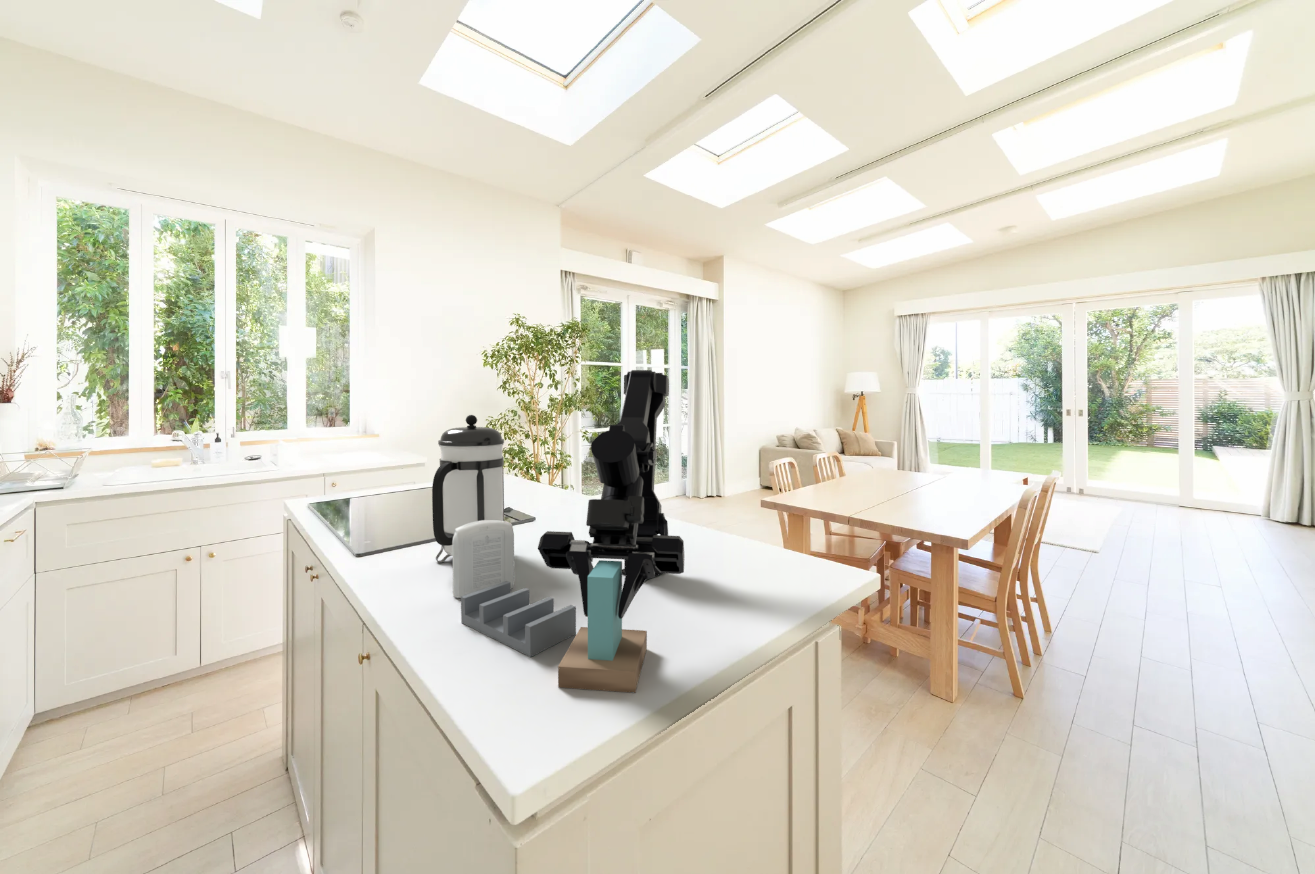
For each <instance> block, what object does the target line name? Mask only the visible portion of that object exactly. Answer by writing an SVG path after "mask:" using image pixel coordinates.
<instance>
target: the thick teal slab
mask: <svg viewBox="0 0 1315 874" xmlns="http://www.w3.org/2000/svg"><path fill="white" fill-rule="evenodd" d="M622 569H623V561H621V560H605V559H603V560H602V559H601V560H600V559H598V561H597V562H596V565H594V566H593V570H592V571H591V573H590V574H589V575H588V617H587V627H588V659H594V660H610V661H613V659H614V656H615V654H616V651H617V648H618V646H619V643H620V640H621V638H622V629H623V618H622V619H620V618H619V617H618V611H619V602H620V598H621V594H622V589H623V574H622Z"/></svg>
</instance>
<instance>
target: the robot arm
mask: <svg viewBox="0 0 1315 874" xmlns="http://www.w3.org/2000/svg"><path fill="white" fill-rule="evenodd" d="M669 393H670V380H669V377H668V375H666V374H664V373H663V372H656V371H653V370H652V369H632V370H631V371H627V374H624V376H623V395H625V396H624V401H623V404H622V405H623V406H622V411H621V416H620V419H619V422H617V423H616V424H610V425H609V428H608V429H609V430H606V431H603V432H602V433H600V434H598V435H597V436H596V437H595V438H594V440H592V442H591V445H590V450H591V453H592V454H591V455H592V459H593V461H594V465H595V469H596V473H597V476H598V480H599V482H600V483H601V484H603V485H602V491H601V496H600V498H592V499H588V503H587V513H586V523H585V524H586V525H585V526H587V527H589V529H588V535H589V538H592V539H593V540H592V542H590V541H587V540H584V539H583V540H581V539H575V537H574V534H573V532H572V531H555V530H553V531H551V530H549V531H548V530H547V531H545V533H543V535H541V536H540V538H539V540H538V541H539V542H538V545H537V550H538V552H539V554H540V555H541V558H542V559H543V561H544V563H545V565H546V566H547V567H548V568H551V569H560V570H571V571H572V573H573V574H574V575H577V576H578V580H579V585H580V594H581V601H582V608H583V613H584V614H583V615H584V616H585V617H586V618H588V575H589V574H590V573H591V571H592V570H593V568H594V566H593V562H594V559H601V560H602V559H603V560H605V559H607V560H624V568H622V575H623V576H624V575H625V577H624V581H623V584H622V594H621V598H620V602H619V611H618V617H619V618H620V619H622V620H623V618H624V617H625V614H626V613H627V611H628V609H629V607H630V606H631V603H632V602H633V600H634V599H635V597H636V595H637V593H638V592H639V590H641V587H642V586H643V585H644V583H645V582H646V581H648V580H649V579H654V578H655V577H657V576H661V575H663V574H672V575H673V574H675V575H680V574H683V573H684V572H685V543H684V540H683V539H682V537H681V536H680V535H669V527H668V525H669V524H668V520H667V519H666V517H665V513H664V512H662V504H661V501H660V500H659V497H658V496H657V495H656V493H655V475H656V474H655V473H656V472H655V471H656V459H657V458H658V457H657V456H658V455H657V454H658V452H657V449H656V447H657V424H658V423H657V421H658V417H660V415H661V413H662V412H663V410H664V409H665V407H666V397H669Z"/></svg>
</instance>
